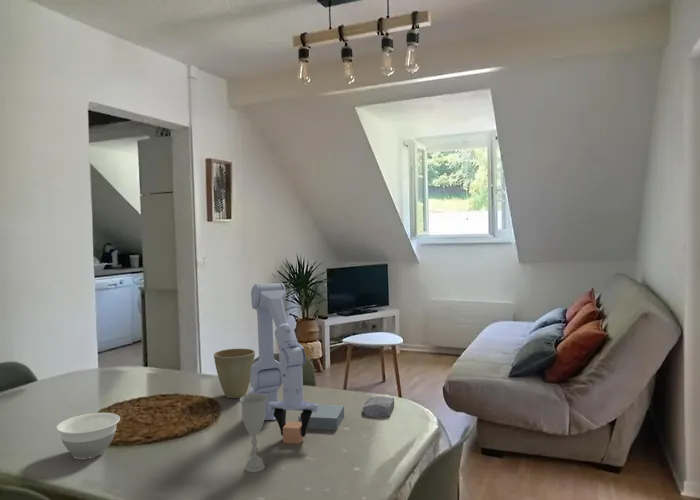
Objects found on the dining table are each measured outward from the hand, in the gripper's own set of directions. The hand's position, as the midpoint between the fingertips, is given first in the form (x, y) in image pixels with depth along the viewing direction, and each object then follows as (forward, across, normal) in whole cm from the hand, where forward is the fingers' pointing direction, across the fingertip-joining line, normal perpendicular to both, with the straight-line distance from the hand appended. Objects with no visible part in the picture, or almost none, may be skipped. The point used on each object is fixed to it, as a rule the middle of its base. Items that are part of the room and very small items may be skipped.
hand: (293, 434), depth 155 cm
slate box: (+2, +5, +15) cm, 16 cm away
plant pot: (+2, -33, +38) cm, 50 cm away
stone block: (+2, +21, +28) cm, 35 cm away
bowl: (+2, -54, -16) cm, 56 cm away
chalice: (+2, -5, -19) cm, 20 cm away
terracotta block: (+2, 0, 0) cm, 2 cm away
